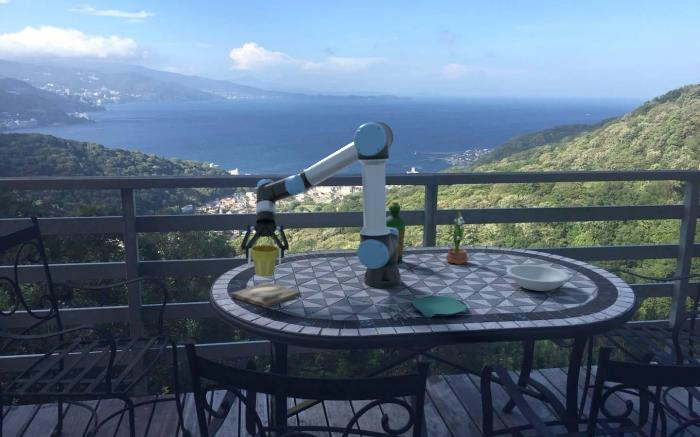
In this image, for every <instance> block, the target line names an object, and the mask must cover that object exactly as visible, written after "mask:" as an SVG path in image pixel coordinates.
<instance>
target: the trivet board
mask: <svg viewBox="0 0 700 437" xmlns="http://www.w3.org/2000/svg"><path fill="white" fill-rule="evenodd" d="M300 296H301V291H300V290H297V289H296V290H295V289H293V288H290V287H286V286H282V285H279V284H275V283H272V282H268V281H266V282H263V283H260V284H257V285H253V286H251V287H247V288H243V289H240V290H236V291H234V292H231V298H234V299H237V300H240V301H243V302H246V303H249V304H253V305H256V306H259V307H262V308H265V309H266V308H269V307H272V306H274V305H277V304H281V303H282V302H286V301H288V300H292V299H294V298H297V297H300Z"/></svg>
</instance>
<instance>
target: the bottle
mask: <svg viewBox="0 0 700 437" xmlns="http://www.w3.org/2000/svg"><path fill="white" fill-rule="evenodd" d="M388 211H389V215H388V216H386V227H391V228H396V229H397V230H398V235H399V237H398V260H397V264H400V263H402V262H403V254H404V246H405V234H406V233H405V232H406V226H407V225H406V223H407V222H406V220H405V218H403V217H402V216H400V211H402V209H401V206H400V204H399V202H398V201H391V204H389V207H388Z"/></svg>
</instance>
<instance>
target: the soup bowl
mask: <svg viewBox="0 0 700 437" xmlns="http://www.w3.org/2000/svg"><path fill="white" fill-rule="evenodd" d="M506 273H507V274H508V275H510V277H511V279H512V280H513V282H514V283H515V284H516V285H518V286H519V287H521V288H524V289H527V290H531V291H537V292H538V291H539V292H547V291H548V292H549V291H553V290H555V289H557V288H559V287H560V286H562V285H563V283H564V282H566V281H569V279H570V274H569V273H567V271H563V270H561V269H559V268H556V267H551V266H545V265H541V264H540V265H539V264H538V265H537V264H517V265H511V266H509V267H507V268H506Z"/></svg>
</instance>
